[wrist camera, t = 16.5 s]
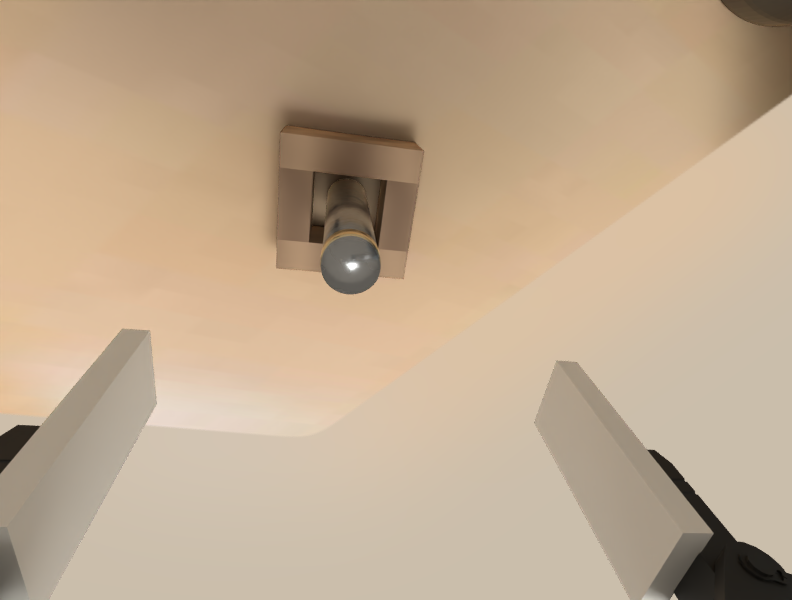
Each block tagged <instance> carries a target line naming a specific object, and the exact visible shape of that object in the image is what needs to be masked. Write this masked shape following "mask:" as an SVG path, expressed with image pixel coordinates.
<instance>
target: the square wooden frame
mask: <svg viewBox="0 0 792 600" xmlns="http://www.w3.org/2000/svg"><path fill="white" fill-rule="evenodd" d="M423 155H424V151H423V150H422V149H421V148H420V147H419V146H418V145H417V144H416V143H414V142H407V141H399V140H392V139H385V138H377V137H370V136H362V135H355V134H347V133H340V132H332V131H325V130H317V129H310V128H302V127H295V126H288V125H286V126H285V128H284V129H283V130H282V131H281V132H280V157H279V191H278V224H277V258H276V268H279V269H291V270H302V271H314V272H321V266H320V260H321V251H322V247H323V238H324V227H322V226H312V212H313V196H314V180H315V172H322V173H331V174H339V175H347V176H356V177H364V178H373V179H381V184H380V192H379V200H378V208H377V216H376V224H375V232H374V235H375V240H376V244H377V247H378V250H379V254H380V259H381V269H380V274H379V277H385V278H397V279H404V273H405V267H406V260H407V254H408V248H409V242H410V236H411V229H412V223H413V217H414V211H415V204H416V198H417V192H418V186H419V180H420V173H421V167H422V161H423Z"/></svg>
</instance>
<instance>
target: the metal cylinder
mask: <svg viewBox="0 0 792 600" xmlns="http://www.w3.org/2000/svg"><path fill="white" fill-rule="evenodd" d="M320 266H321V272H322V275H323V278H324V280H325V281H326V283H327V284H328V285H329V286H330V287H331V288H333V289H334V290H336V291H338V292H340V293H344V294H358V293H361V292H364V291H366V290H367V289H369V288H370V287H371V286H373V285H374V283H375V282H376V281H377V279H378V277H379V274H380V269H381V259H380V254H379V250H378V247H377V244H376V240H375V235H374V230H373V226H372V221H371V216H370V211H369V207H368V202H367V197H366V193H365V190H364V188H363V187H362V185H361V184H360V183H358V182H357V181H355V180H353V179H348V178H344V179H340V180H338V181H336V182H334V183H333V184H332V185H331V187H330V188H329V191H328V194H327V205H326V216H325V227H324V238H323V247H322V251H321V260H320Z"/></svg>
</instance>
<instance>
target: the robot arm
mask: <svg viewBox="0 0 792 600" xmlns="http://www.w3.org/2000/svg"><path fill="white" fill-rule="evenodd" d="M722 2H723V3H724V4H725V5H726V6H727V7H728V9H729V10H731V11H732V12H733V13H734V14H736V15H737V16H738V17H740V18H742V19H744V20H746V21H748V22H751V23H753V24H757V25H762V26H772V27H774V26H788V25H792V0H722ZM156 404H157V402H156V391H155V380H154V369H153V358H152V347H151V336H150V331H146V330H133V329H122V330H121V331H120V332H119V333H118V335H117V336H116V337H115V338H114V339H113V341H112V342H111V343H110V344H109V345H108V346H107V348H106V349H105V350H104V351H103V352H102V354H101V355H100V356H99V357H98V358H97V360H96V361H95V362H94V363H93V364H92V365H91V367H90V368H89V369H88V370H87V371H86V373H85V374H84V375H83V376H82V377H81V379H80V380H79V381H78V382H77V383H76V385H75V386H74V387H73V388H72V389H71V390H70V392H69V393H68V394H67V395H66V396H65V398H64V399H63V400H62V401H61V402H60V404H59V405H58V406H57V407H56V408H55V410H54V411H53V412H52V413H51V414H50V415H49V417H48V418H47V419H46V420H45V422H44V423H43V424H42V425H41V426H29V425H17V426H16V427H14V428H12V429H11V430H9V431H8V432H6V433H4V434H3V435H1V436H0V600H49V598H50V597H51V595H52V593H53V591H54V589H55V587H56V586H57V584H58V582H59V580H60V578H61V576H62V575H63V573H64V571H65V569H66V568H67V566H68V564H69V562H70V560H71V558H72V557H73V555H74V553H75V551H76V549H77V548H78V546H79V544H80V542H81V540H82V538H83V537H84V535H85V533H86V531H87V529H88V527H89V526H90V524H91V522H92V520H93V519H94V517H95V515H96V513H97V511H98V509H99V508H100V506H101V504H102V502H103V500H104V499H105V497H106V495H107V493H108V491H109V489H110V488H111V486H112V484H113V482H114V480H115V479H116V477H117V475H118V473H119V471H120V469H121V468H122V466H123V464H124V462H125V460H126V459H127V457H128V455H129V453H130V451H131V449H132V448H133V446H134V444H135V442H136V440H137V439H138V436H139V435H140V433H141V431H142V429H143V428H144V426H145V424H146V422H147V420H148V419H149V417H150V415H151V413H152V411H153V410H154V408H155V406H156ZM534 423H535V425H536V427H537V429H538V431H539V432H540V434H541V436H542V438H543V440H544V442H545V443H546V445H547V447H548V449H549V451H550V453H551V455H552V456H553V458H554V460H555V462H556V464H557V465H558V467H559V469H560V471H561V473H562V475H563V477H564V478H565V480H566V482H567V484H568V486H569V488H570V489H571V491H572V493H573V495H574V497H575V499H576V501H577V502H578V504H579V506H580V508H581V510H582V512H583V514H584V515H585V517H586V519H587V521H588V523H589V525H590V527H591V528H592V530H593V532H594V534H595V536H596V538H597V539H598V541H599V543H600V545H601V547H602V549H603V550H604V552H605V554H606V556H607V558H608V560H609V561H610V563H611V565H612V567H613V569H614V571H615V573H616V574H617V576H618V578H619V580H620V582H621V584H622V586H623V587H624V589H625V591H626V593H627V595H628V597H629V598H630V600H670V598H671V597H672V595H673V594H674V593H675V595H676V597H677V598H678V600H792V574H789V573H786V572H785V571H784V569H783V568H782V567H781V566H780V565H779V564H778V563H777V562H776V561H775V560H774V559H773V558H771V557H770V556H769V555H768V554H766V553H764V552H763V551H761V550H760V549H758V548H756V547H754V546H752V545H749V544H746V543H744V542H737V541H736V540H735V539H734V538H733V536H732V535H731V534H730V533H729V532H728V531H727V529H726V528H725V527H724V526H723V524H722V523H721V522H720V521H719V520H718V518H717V517H716V516H715V515H714V514H713V512H712V511H711V510H710V509H709V508H708V506H707V505H706V504H705V503H704V502H703V500H702V499H701V498H700V497H699V496H698V495H696V494H695V491H694V490H693V488H692V487H691V486H690V485H689V484H688V483H687V482H685V481H684V478H683V476H682V475H681V474H680V473H679V472H678V470H677V469H676V468H675V467H674V466H673V464H672V463H670V462H669V461H668V460H666V459H665V458H664V457H663V456H661V455H660V454H659V453H657V452H656V451H655V450H647V449H646V448H645V447H644V445H643V444H642V443H641V442H640V441H639V439H638V438H637V437H636V435H635V434H634V433H633V432H632V430H630V428H629V427H628V425H627V424H626V423H625V422H624V420H623V419H622V418H621V417H620V415H619V414H618V413H617V412H616V410H615V409H614V408H613V407H612V405H611V404H610V403H609V402H608V400H607V399H606V398H605V397H604V395H603V394H602V393H601V392H600V390H598V388H597V387H596V385H595V384H594V383H593V382H592V380H591V379H590V378H589V377H588V376H587V374H586V373H585V372H584V370H583V369H582V368H581V367H580V365H579V364H578V363H577V362H568V361H556V364H555V366H554V369H553V372H552V374H551V378H550V380H549V383H548V386H547V389H546V391H545V394H544V397H543V399H542V402H541V405H540V408H539V410H538V413H537V416H536V419H535V422H534Z"/></svg>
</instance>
